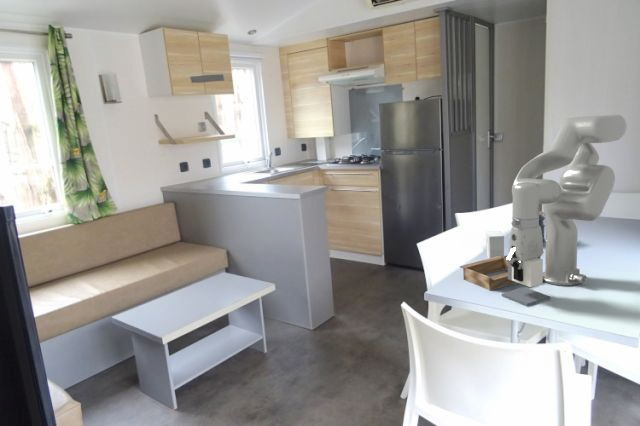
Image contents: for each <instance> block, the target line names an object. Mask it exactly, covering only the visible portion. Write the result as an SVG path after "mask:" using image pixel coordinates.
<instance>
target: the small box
mask: <svg viewBox="0 0 640 426" xmlns="http://www.w3.org/2000/svg"><path fill="white" fill-rule="evenodd" d="M485 236H486V237H485V239H486V256H487V259H490V258H493V257H497V256H500V257H503V258H505V236H504V234H503V233H502V232H501V231H498V230H497V231H496V230H495V231H486V232H485Z"/></svg>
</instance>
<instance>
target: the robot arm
mask: <svg viewBox="0 0 640 426" xmlns="http://www.w3.org/2000/svg"><path fill="white" fill-rule="evenodd" d="M627 125H628V124H627V121H626V119H625V118H624V116H623V115H621V114H604V115H603V114H602V115H587V116H586V115H585V116H574V117H569V118H565V119H564V120H563V121H562V122H561V123H560V125H559V127H558V128H557V130H556V132H555V133H554V135H553V137H552V139H551V140H550V143H549V145H548V147H547V148H546V149H545V151H542V153H539V154H537V155H536V156H535V157H533V158H532V159H531V160H529V161H528V162H527V163H525V164H524V165H523V166H522V167H521V168H520V170H519V172H518V173H517V175H516V176H515V179H514V180H513V183H512V186H511V195H512V217H511V219H512V220H511V221H512V222H511V230H510V234H509V244H508V255H507V257H506V258H507V259H506V261H507V262H509V263H510V264H511V265H512V267H513V268H514V279H515V280H518V281H523V269H521V268H522V264H523V261H526V260H530V259H534V258H540V259H541V257H542V256H543V254H545V257H544V259H545V260H544V261H545V263H544V264H545V266H544V267H545V269H544V271H543V282H544V283H548V284H551V285H556V286H564V287H565V286H574V285H575V286H576V285H578V284H580V283H582V284H583V283H585V281H586V279H587V274H584V273H583V274H582V273H581V272H580V268H577V266H578V263H577V262H578V238H579V237H578V233H579V232H578V227H577V226H576V223H575V222H574V220H577V221H584V222H586V221H587V222H593V221H596V220H598V218H599V217H600V216H601V214H602V213H603V210H604V208H605V206H606V204H607V201H608V200H609V198H610V195H611V193H612V192H613V188H614V186H615V183H616V182H615V181H616V174H615V171H614V169H613V168H612V167H611V166H609V165H604V164H598V162H599V160H600V155H599V153H598V151H597V149H596V148H595V147H594V146H593V144H602V143H611V142H616V141H619V140H621V139H622V138H623V137H624V135H625V133H626V131H627V127H628V126H627ZM561 168H564V169H563V171H562V173H561V175H560V178H559V183H558V182H557V181H555V180H553V179H545V178H542V179H541V178H538V177H540V176H541V175H543V174H545V173H550V172H552V171H556V170H559V169H561ZM540 205H542V209H543V213H544V217H545V219H544V221H545V251H544V245H543V237H542V231H541V226H539V210H540ZM544 252H545V253H544ZM513 258H514V259H513ZM517 261H519V263H517Z"/></svg>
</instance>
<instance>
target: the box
mask: <svg viewBox="0 0 640 426" xmlns="http://www.w3.org/2000/svg"><path fill="white" fill-rule="evenodd" d="M513 259H514V258H513ZM517 263H519V261H517ZM521 269H523V281H518V280H515V279H514V268H513V267H512V265H511V264H510V263H509V262H508V271H507V272H508V279H509V280H512V281H515V282H517V283H518V284H520V285H523V286H525V287H527V288H528V287H529V288H532V287H536V286H540V285H543V282H544V281H543V272H544V259H543V258H541V257H540V258H534V259H530V260H526V261H523V264H522V268H521ZM517 283H516V284H517Z"/></svg>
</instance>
